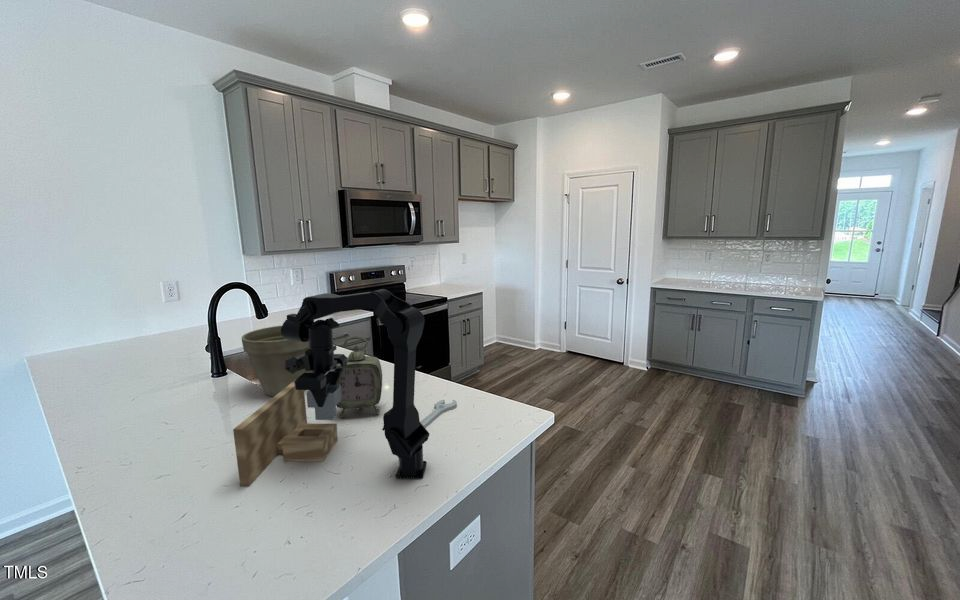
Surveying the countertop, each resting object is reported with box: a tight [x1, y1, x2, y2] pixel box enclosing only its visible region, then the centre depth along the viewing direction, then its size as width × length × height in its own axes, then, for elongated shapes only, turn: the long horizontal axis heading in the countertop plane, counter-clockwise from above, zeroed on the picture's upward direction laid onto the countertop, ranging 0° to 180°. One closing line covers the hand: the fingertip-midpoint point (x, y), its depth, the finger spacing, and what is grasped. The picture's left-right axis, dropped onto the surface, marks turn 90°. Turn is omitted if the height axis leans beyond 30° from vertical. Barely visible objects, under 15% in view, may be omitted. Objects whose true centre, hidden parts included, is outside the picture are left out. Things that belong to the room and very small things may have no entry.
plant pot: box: [241, 325, 313, 397], centre depth 144 cm, size 25×25×22 cm
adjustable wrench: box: [420, 399, 457, 429], centre depth 122 cm, size 25×6×2 cm, turn 151°
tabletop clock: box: [336, 336, 383, 419], centre depth 124 cm, size 14×9×25 cm, turn 101°
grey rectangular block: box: [306, 385, 342, 421], centre depth 103 cm, size 5×7×8 cm
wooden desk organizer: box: [232, 380, 339, 487], centre depth 104 cm, size 30×15×14 cm, turn 179°
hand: (325, 402), depth 103 cm, fingers closed on grey rectangular block, 5 cm apart
